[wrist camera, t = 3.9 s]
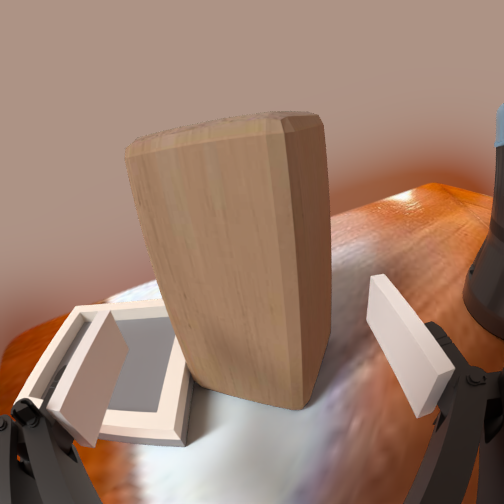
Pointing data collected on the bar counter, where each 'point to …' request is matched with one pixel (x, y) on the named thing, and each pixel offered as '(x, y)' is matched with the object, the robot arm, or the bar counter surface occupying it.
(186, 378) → the locating plate
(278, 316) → the wooden block
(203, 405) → the bar counter surface
